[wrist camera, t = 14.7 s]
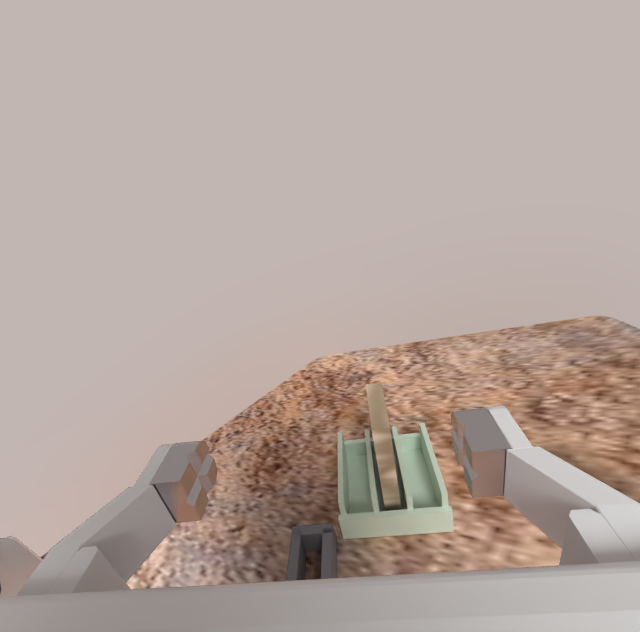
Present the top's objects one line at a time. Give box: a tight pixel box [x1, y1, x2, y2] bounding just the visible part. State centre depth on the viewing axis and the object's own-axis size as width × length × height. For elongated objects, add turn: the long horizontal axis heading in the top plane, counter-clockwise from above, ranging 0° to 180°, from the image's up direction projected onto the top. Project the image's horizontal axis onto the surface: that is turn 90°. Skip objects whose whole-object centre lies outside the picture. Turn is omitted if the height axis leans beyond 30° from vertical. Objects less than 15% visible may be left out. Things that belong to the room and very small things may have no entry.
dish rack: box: [338, 423, 454, 539], centre depth 40 cm, size 12×11×6 cm
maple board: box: [366, 383, 401, 511], centre depth 38 cm, size 2×7×13 cm, turn 178°
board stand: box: [286, 523, 337, 581], centre depth 32 cm, size 4×10×3 cm, turn 177°
